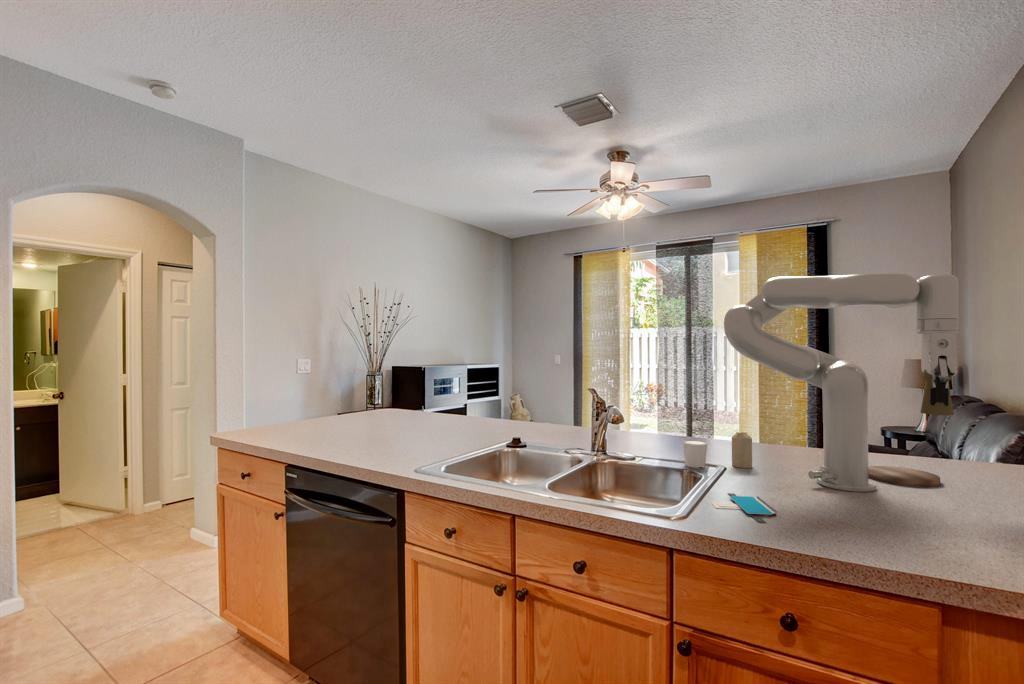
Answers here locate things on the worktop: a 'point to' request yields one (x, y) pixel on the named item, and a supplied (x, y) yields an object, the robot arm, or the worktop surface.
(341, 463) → the worktop surface
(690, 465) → the white cup
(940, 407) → the olive green pepper mill
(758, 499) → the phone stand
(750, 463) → the candle
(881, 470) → the walnut board
